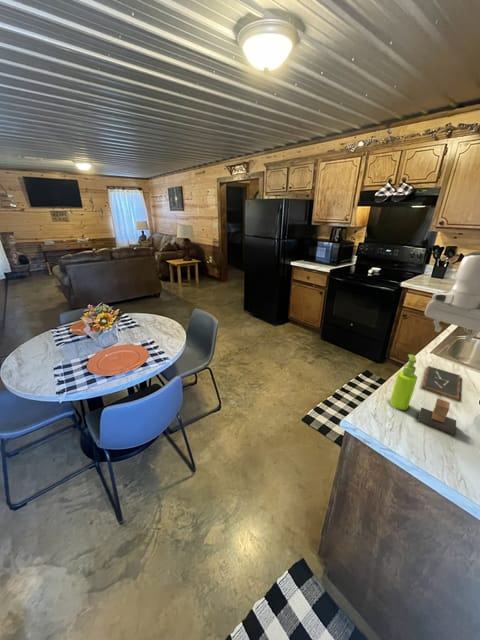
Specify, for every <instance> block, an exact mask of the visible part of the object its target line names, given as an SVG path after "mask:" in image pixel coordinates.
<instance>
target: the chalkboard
mask: <svg viewBox="0 0 480 640" xmlns="http://www.w3.org/2000/svg"><path fill="white" fill-rule="evenodd" d="M421 389H423V390H425V391H429V392H432V393H435V394H437V395H441V396H444V397H446V398H449V399H453V400H455V401H459V400H460V389H461V374H459V373H458V374H457V373H454V372H452V371H447V370H443V369H440V368H436V367H435V366H430V365H427V367H426V371H425V374H424V378H423V382H422V385H421Z"/></svg>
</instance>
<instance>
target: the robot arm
mask: <svg viewBox="0 0 480 640" xmlns="http://www.w3.org/2000/svg"><path fill="white" fill-rule="evenodd" d="M454 281H455V282H454V284H453V285H452V286H451V289H450V291H439V292H436V293H433V294H432V297H431V298H432V299H431V300H430V301H428V303H427V305H426V308H425V309H424V316H425V318H429V319H433V324H434V332H437V333H440V332H441V331H442V329H443V326H440V322H443V323H446V324H450V325H453V326H457V327H460V328H462V329H467V330H470V331H471V335H470V334H469V335H468V334H467V335H466V336H465V338H464V341H465V342H468V343H470V342H472V341H473V338H475V336H477V335H479V334H480V251H479V250H477V251H472V252H468V253H467V254H466V255H465V256H463V257H462V259H461V261H460V263H459V266H458V267H457V271H456V274H455V280H454Z"/></svg>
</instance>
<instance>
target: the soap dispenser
mask: <svg viewBox="0 0 480 640" xmlns="http://www.w3.org/2000/svg"><path fill="white" fill-rule="evenodd" d="M407 358H408V363H407V364H405V365H403V370H399V371H398V372H397V375H396V380H395V382H394V386H393V390H392V393H391V396H390V400H389V403H390V405H391V406H392V407H393V408H395V409H397V410H400V411H401V410H402V411H404V410H407V409H409V405H410V402H411V399H412V395H413V393H414V390H415V387H416V383H417V380H418V376H417V375H416V374H415V372H416V368H417V367H415V364H416V363H417V359H416V356H415V354H410V353H407Z"/></svg>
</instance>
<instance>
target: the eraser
mask: <svg viewBox="0 0 480 640" xmlns="http://www.w3.org/2000/svg"><path fill="white" fill-rule="evenodd" d="M449 410H450V401H446V400H443V399H441V398H436V401H435V403H434V407H433V409H432V410H429V409H427V408H425V407H420V410H419V413H418V417H417V421H418V422H420V423H423V424H425V425H428V426H430V427H433V428H435V429H438V430H440V431H443V432H445V433H446V434H447V433H448V434H450V435H452V436H454V434H455V432H456V430H457V420H456V419H453V418H451V417H448V413H449Z"/></svg>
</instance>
